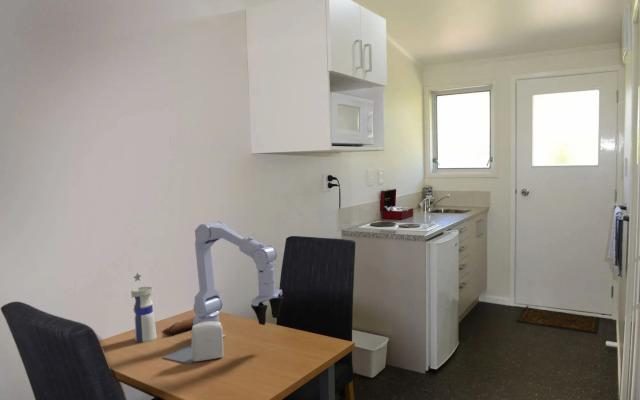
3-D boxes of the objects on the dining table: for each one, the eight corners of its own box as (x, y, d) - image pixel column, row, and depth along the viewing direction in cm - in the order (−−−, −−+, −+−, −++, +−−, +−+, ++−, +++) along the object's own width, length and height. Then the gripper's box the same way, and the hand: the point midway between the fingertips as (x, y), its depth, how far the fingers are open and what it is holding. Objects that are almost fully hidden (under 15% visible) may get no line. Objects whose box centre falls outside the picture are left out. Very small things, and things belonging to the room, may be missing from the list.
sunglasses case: (199, 320, 200) (203, 308, 197) (208, 331, 196) (211, 319, 193) (159, 332, 187) (162, 319, 184) (167, 344, 183) (170, 331, 180)
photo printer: (192, 363, 154) (191, 326, 153) (191, 357, 158) (190, 321, 157) (224, 358, 157) (223, 322, 156) (222, 353, 161) (221, 318, 160)
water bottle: (128, 341, 178) (123, 276, 177) (144, 334, 186) (140, 271, 184) (146, 343, 175) (140, 277, 173) (161, 335, 183) (156, 272, 181)
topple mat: (162, 358, 160) (162, 357, 160) (188, 346, 170) (188, 345, 170) (189, 364, 154) (189, 363, 154) (214, 351, 164) (214, 350, 164)
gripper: (263, 288, 153) (265, 329, 154) (288, 278, 165) (290, 316, 166) (246, 286, 157) (248, 326, 158) (272, 276, 169) (274, 313, 170)
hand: (269, 320), depth 162 cm, fingers open, 7 cm apart
